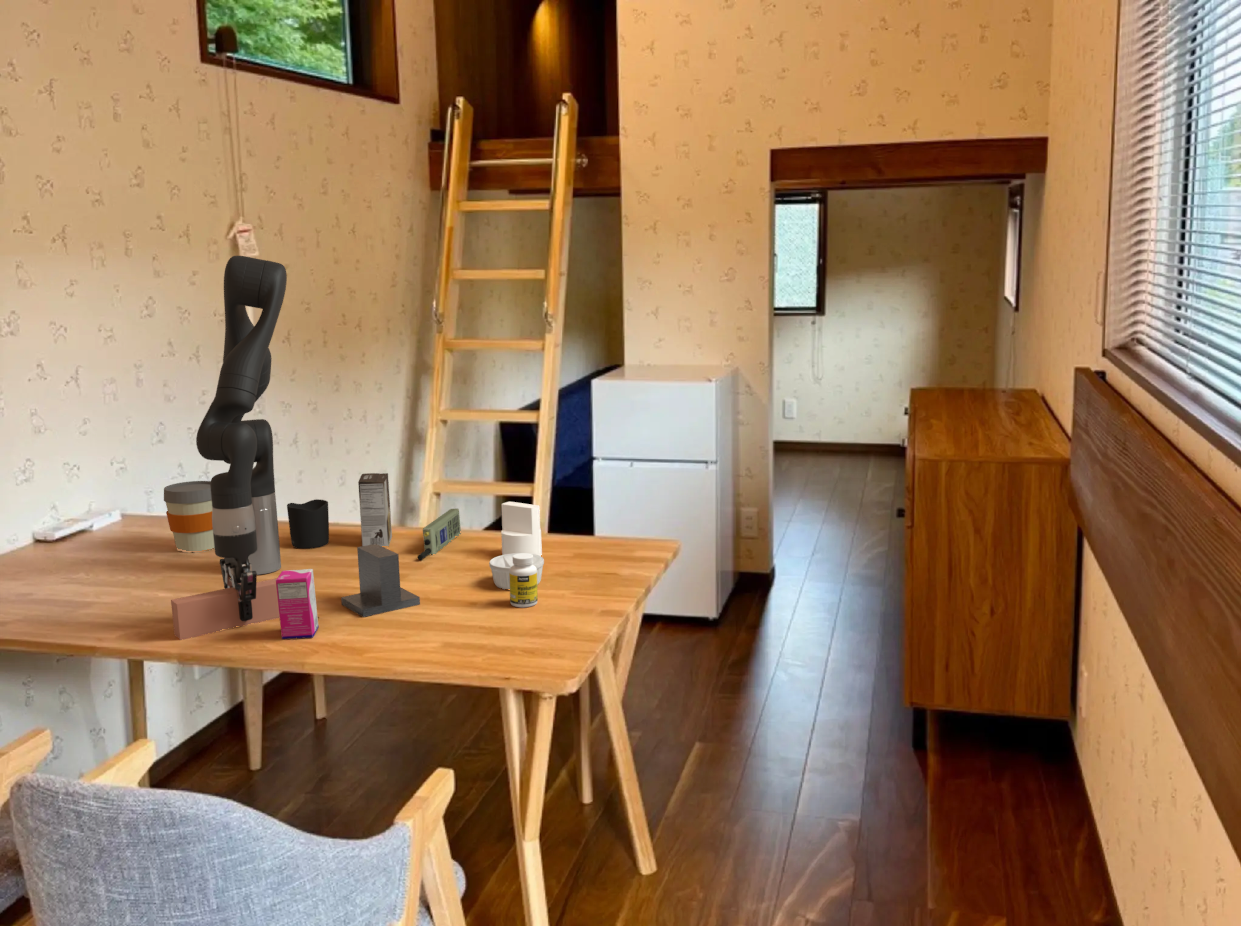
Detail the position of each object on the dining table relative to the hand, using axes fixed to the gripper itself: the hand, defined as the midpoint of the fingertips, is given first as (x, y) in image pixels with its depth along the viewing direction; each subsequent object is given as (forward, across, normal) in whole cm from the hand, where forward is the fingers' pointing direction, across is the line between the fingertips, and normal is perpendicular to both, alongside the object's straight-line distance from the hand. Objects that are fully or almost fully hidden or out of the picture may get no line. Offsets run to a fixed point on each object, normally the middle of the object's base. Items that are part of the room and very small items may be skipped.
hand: (242, 616), depth 208 cm
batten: (+2, 0, 0) cm, 2 cm away
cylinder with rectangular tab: (+2, +4, -65) cm, 65 cm away
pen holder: (+2, +46, -32) cm, 56 cm away
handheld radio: (+2, +24, -54) cm, 59 cm away
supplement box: (+2, -13, -6) cm, 14 cm away
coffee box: (+1, +37, -45) cm, 58 cm away
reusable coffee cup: (+1, +61, -10) cm, 62 cm away
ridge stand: (+1, -7, -25) cm, 26 cm away
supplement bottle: (+1, -25, -47) cm, 53 cm away
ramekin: (+2, -13, -53) cm, 55 cm away
